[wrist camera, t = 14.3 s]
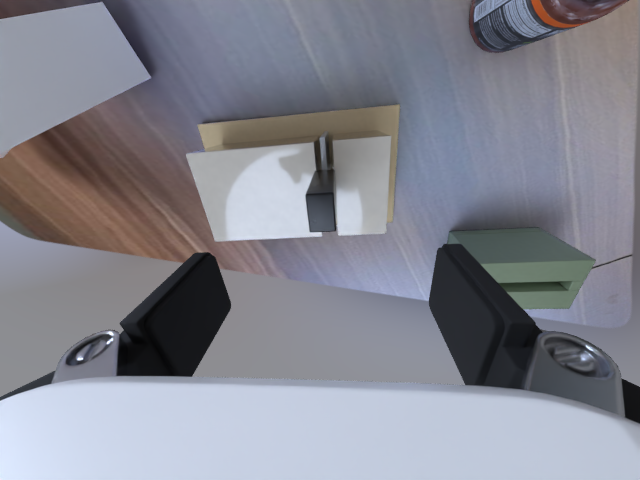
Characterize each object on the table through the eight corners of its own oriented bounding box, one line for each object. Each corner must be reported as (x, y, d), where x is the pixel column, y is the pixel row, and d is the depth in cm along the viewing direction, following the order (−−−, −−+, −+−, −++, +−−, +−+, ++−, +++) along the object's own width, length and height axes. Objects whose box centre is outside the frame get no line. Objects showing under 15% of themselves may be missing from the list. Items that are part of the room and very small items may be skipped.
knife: (318, 131, 23) (299, 150, 12) (334, 130, 23) (331, 147, 12) (323, 199, 27) (313, 264, 15) (338, 198, 26) (338, 264, 15)
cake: (391, 219, 28) (407, 252, 22) (232, 227, 30) (202, 260, 24) (398, 104, 23) (423, 101, 16) (201, 124, 25) (151, 128, 18)
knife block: (538, 227, 27) (596, 260, 21) (522, 269, 30) (569, 308, 24) (449, 231, 28) (479, 263, 22) (441, 271, 31) (466, 310, 25)
